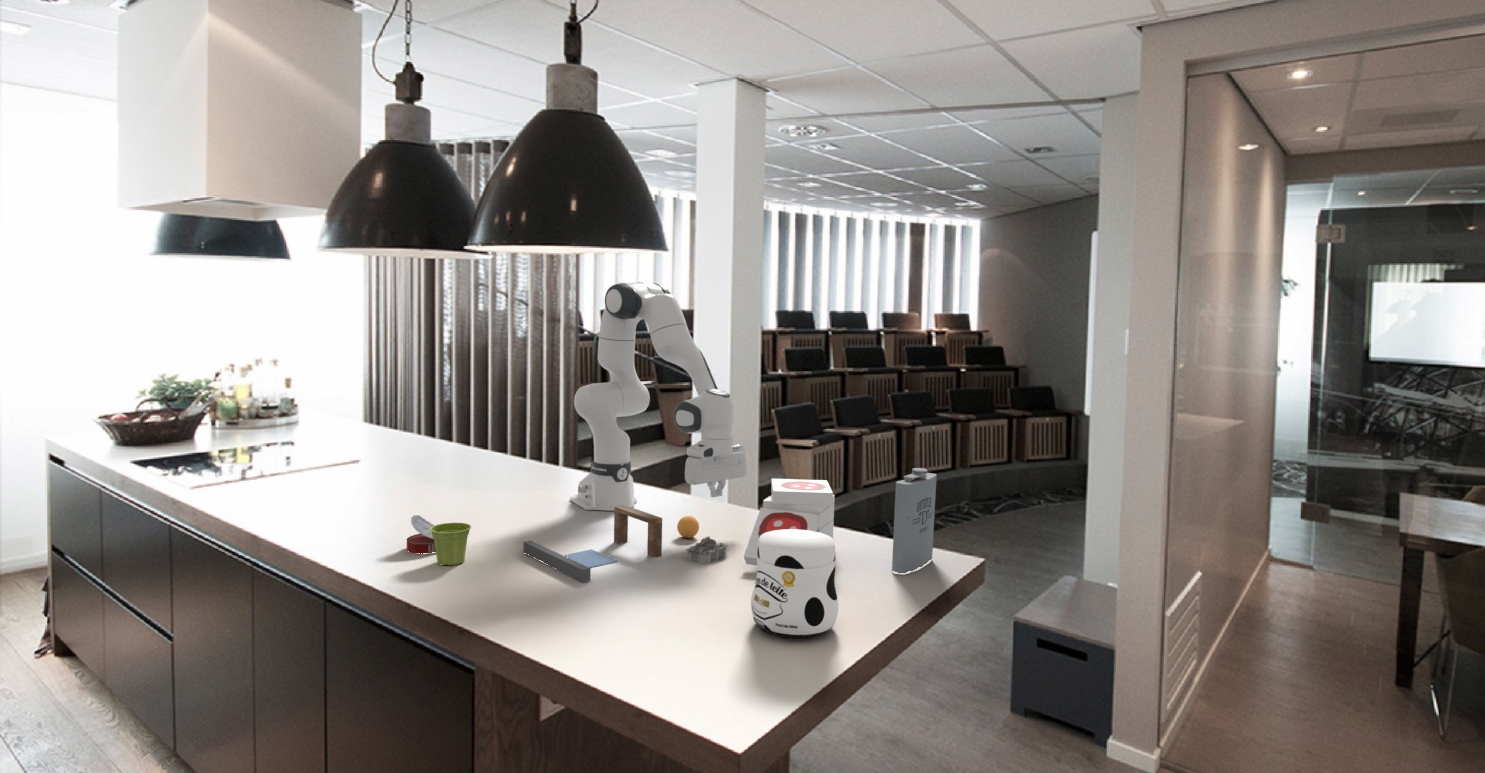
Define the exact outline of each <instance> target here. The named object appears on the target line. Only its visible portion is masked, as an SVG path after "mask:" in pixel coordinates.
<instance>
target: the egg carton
mask: <svg viewBox="0 0 1485 773" xmlns="http://www.w3.org/2000/svg"><path fill="white" fill-rule="evenodd" d="M710 537H711V536H709V535H708V536H706V537H703V538H702V539H701V540H700V542H696V544H694V545H691V546H689V547H688V548H687V549H684V551H685V552H686V553H687V561H698V562H697V563H699V564H705V563H706V564H709V563H711V560H716V561H717V560H718V559H719V557H727V547H729V545H727V544H726V543H725V544H722V542H720V543H719V544H717V541H716V540H715V539H712V538H710Z"/></svg>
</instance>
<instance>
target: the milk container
mask: <svg viewBox="0 0 1485 773" xmlns="http://www.w3.org/2000/svg"><path fill="white" fill-rule="evenodd" d="M757 555H758V557H757V566H756V580H755V583H754V584H755V585H754V587H753V588H754V589H753V591H752V595H751V601H750V602H751V603H750V606H751V607H750V608H751V613H752V619H753V621H754V622H755V624H756V625H757V626H758V627H759V628H760V629H762V630H763V631H766V632H768V633H770V634H772V635H776V636H780V637H787V638H811V637H817V636H820V635H822V634H825V633H827V632H828V631H830V630H831V629H832V628H833V627H834V625H835V624H836V622H837V618H838V614H839V599H838V594H837V590H836V583H835V577H836V563H837V562H836V542H835V539H834V537H833V538H831V537H830V536H828V535H825V534H823V533H819V532H814V531H809V530H799V529H783V530H774V531H770V532H766V533H764V534H762V535H761V536H760V538H759V543H758V551H757Z"/></svg>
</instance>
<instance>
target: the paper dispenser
mask: <svg viewBox="0 0 1485 773" xmlns="http://www.w3.org/2000/svg"><path fill="white" fill-rule="evenodd" d="M770 486H771V487H770V491H771V495H769V496H768V497H766V498H765V499H763V500H762V507H760V509H759V511H758V515H757V518H756V520H755V523H754V526H753V529H752V531H751V535H750V537H749V541H748V543H747V546H746V549H745V551H744V555H743V559H744V561H745V564H746V565H750V566H751V565H752V566H756V567H757V557H758V555H757V551H758V543H759V538H760V536H761V535H762V534H764V533H766V532H770V531H774V530H783V529H799V530H809V531H814V532H819V533H823V534H825V535H828V536H830V537H831V538H833V539H834V519H835V518H834V517H835V500H836V498H835V496H836V495H835V494H834V493H833V490H832V488H831V486H830V484H829V482H828V480H826V479H825V480H824V479H796V478H795V479H794V478H771V484H770Z"/></svg>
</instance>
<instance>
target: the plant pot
mask: <svg viewBox="0 0 1485 773" xmlns="http://www.w3.org/2000/svg"><path fill="white" fill-rule="evenodd" d="M434 525H435V526H432V527H431V528H430V531H431V532H432V536H433V538H434V543H435V549H436V553H435V555H436V561H437V564H438V565H440V564H442V565H441V566H446V565H447V566H450V565H452V566H456V565H455V564H457V565H460V563H461V564H463V562H465V558H466V551H467V543H468V537H469V534H470V530H471V529H472V525H471V524H469V523H465V522H445V523H438V524H434Z"/></svg>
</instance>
